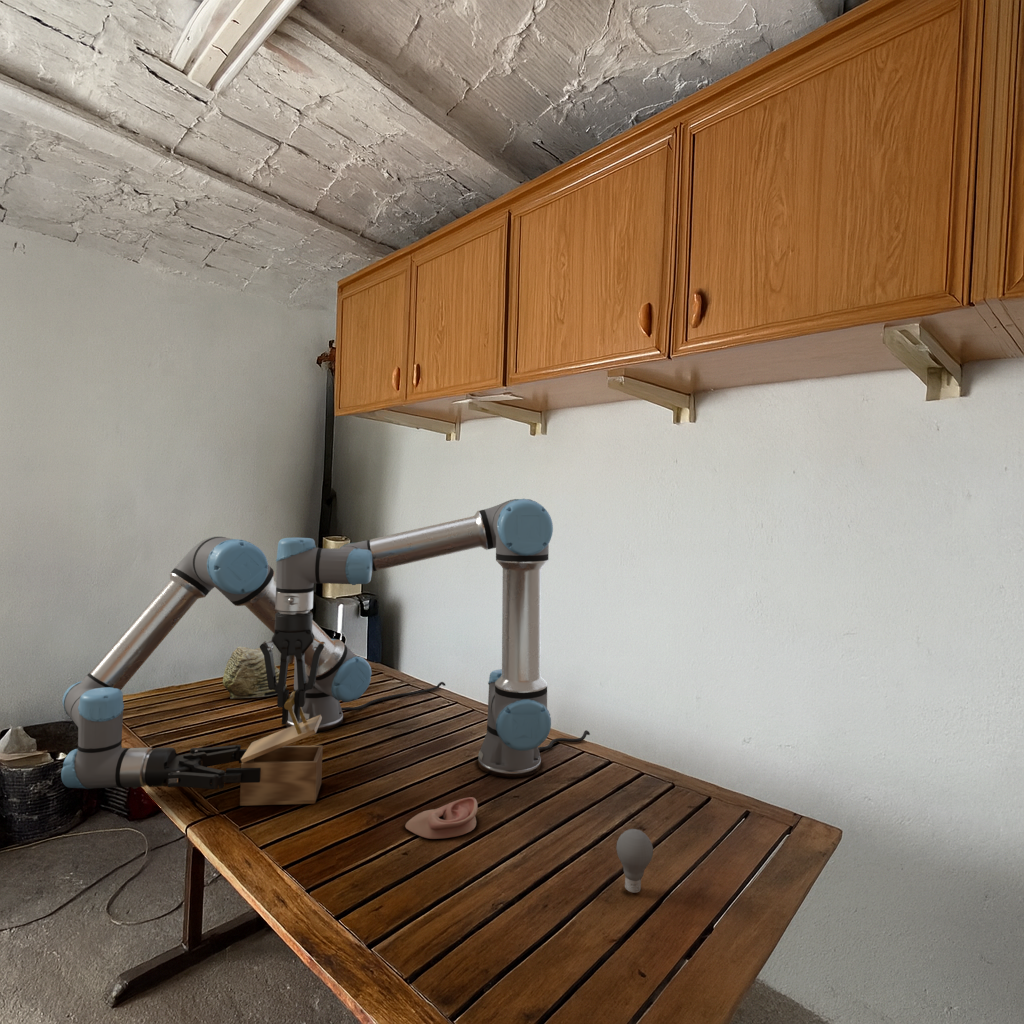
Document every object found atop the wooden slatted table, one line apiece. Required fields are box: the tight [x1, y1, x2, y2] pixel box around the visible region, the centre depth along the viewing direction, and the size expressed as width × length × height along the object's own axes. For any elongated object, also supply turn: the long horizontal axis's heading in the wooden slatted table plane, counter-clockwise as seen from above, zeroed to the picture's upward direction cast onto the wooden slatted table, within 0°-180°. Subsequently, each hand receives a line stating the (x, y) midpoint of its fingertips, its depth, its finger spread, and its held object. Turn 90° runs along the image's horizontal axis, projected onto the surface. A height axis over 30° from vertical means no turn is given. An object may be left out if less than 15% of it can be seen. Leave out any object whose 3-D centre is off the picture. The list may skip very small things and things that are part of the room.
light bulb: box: [615, 828, 654, 894], centre depth 106 cm, size 6×6×10 cm
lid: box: [241, 690, 322, 764], centre depth 133 cm, size 15×9×8 cm, turn 98°
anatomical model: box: [404, 796, 479, 840], centre depth 124 cm, size 13×4×12 cm
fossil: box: [222, 646, 288, 699], centre depth 198 cm, size 9×18×15 cm, turn 132°
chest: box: [239, 744, 324, 807], centre depth 134 cm, size 15×9×9 cm, turn 99°
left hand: (265, 765), depth 133 cm, fingers closed on chest, 9 cm apart
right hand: (290, 721), depth 134 cm, fingers closed on lid, 2 cm apart
